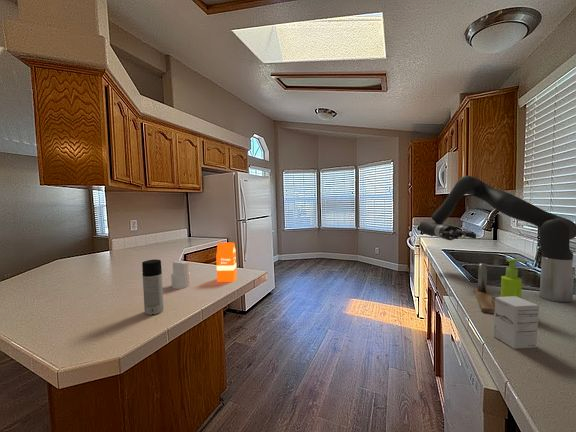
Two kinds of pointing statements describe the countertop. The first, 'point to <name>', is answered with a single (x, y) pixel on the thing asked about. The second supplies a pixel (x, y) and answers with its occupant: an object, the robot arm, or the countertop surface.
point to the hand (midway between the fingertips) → (466, 236)
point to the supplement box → (516, 322)
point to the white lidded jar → (181, 275)
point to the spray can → (152, 286)
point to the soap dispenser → (511, 280)
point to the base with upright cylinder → (484, 291)
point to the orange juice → (226, 262)
